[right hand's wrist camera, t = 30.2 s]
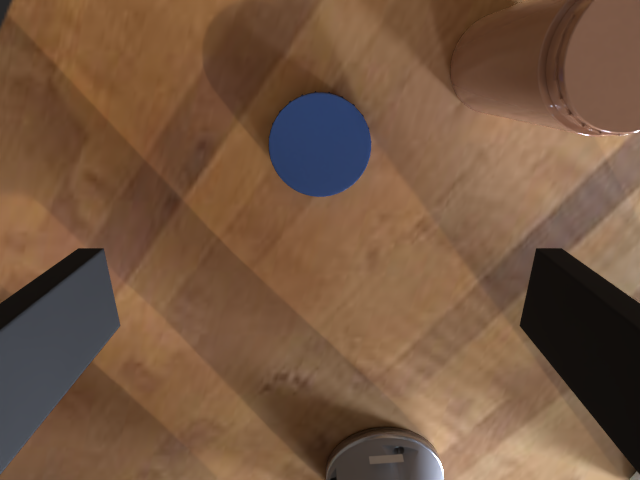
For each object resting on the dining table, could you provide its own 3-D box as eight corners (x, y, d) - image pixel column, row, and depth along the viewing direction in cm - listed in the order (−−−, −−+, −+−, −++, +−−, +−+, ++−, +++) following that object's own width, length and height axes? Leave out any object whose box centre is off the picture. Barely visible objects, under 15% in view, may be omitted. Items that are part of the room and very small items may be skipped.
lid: (359, 81, 36) (361, 81, 35) (376, 180, 40) (379, 185, 38) (259, 104, 37) (256, 105, 35) (284, 200, 41) (282, 206, 39)
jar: (452, 121, 38) (553, 154, 22) (447, 22, 35) (558, -27, 18) (543, 104, 37) (717, 125, 21) (546, 2, 34) (750, -66, 18)
